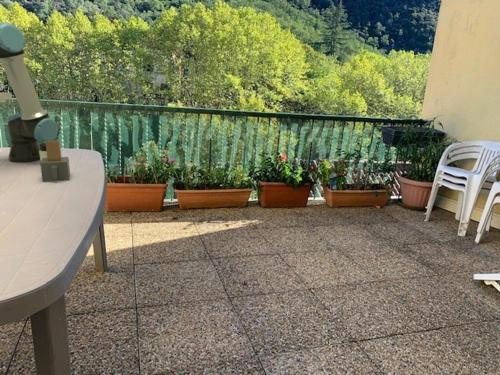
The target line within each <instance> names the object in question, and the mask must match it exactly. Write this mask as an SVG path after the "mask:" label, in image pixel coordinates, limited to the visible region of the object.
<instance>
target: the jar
mask: <svg viewBox="0 0 500 375" xmlns="http://www.w3.org/2000/svg"><path fill="white" fill-rule="evenodd" d="M39 148H40V150H39V154H40V162H41V161H42V159H43V158H47V151H46V143H45V142H41V143H40V144H39ZM61 157H63V156H62V154H61Z"/></svg>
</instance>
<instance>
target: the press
mask: <svg viewBox="0 0 500 375" xmlns="http://www.w3.org/2000/svg"><path fill="white" fill-rule="evenodd" d="M61 158H62V159H61V161H48V159H47V158H43V159H42V161H40V164H39V165H40V172H41V178H42V182H43V183H46V182H47V183H48V182H59V181H60V182H61V181H63V182H64V181H70V177H71V170H70V162H69V160H70V159H69V156H62V157H61Z"/></svg>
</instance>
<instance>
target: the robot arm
mask: <svg viewBox="0 0 500 375" xmlns="http://www.w3.org/2000/svg"><path fill="white" fill-rule="evenodd" d="M25 45H26V38H25V35H24V34H23V32H22V30H21V29H20V28H18V26H16V25H14V24H12V23H8V22H3V21H0V63H1V64H2V67H3V70H4V71H5V72H4V73H5V74H6V77H7V79H8V82H9V83H10V87H11V89H12V91H13V93H14V96H15V98H16V100H17V101H16V102H17V103H18V105H19V108H20V110H21V112H22V113H16V114H13V113H12V114H9V115H7V121H6V122H7V127H8V133H9V140H10V147H9V148H10V149H9V153H8V160H9V161H10V162H13V163H15V162H16V163H18V162H19V163H27V162H34V161H35V162H36V161H39V160H40V154H39V150H40V145H39V144H38V143H45V142H46V141H52V140H54V139H56V137H57V134H58V133H59V132H58V131H59V127H58V124H57V122H56V121H55V120H54V119H52V118H50V116H49V113H48V110H45V109H43V107H42V104H41V102H40V99H39V97H38V95H37V92H36V89H35V87H34V84H33V81H32V79H31V76H30V74H29V70H28V68H27V66H26V63H25V61H24V59H23V58H24V56H25V55H26V54H25V50H24V48H25ZM6 100H13V94H12V92H0V103H6Z"/></svg>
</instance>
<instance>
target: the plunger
mask: <svg viewBox="0 0 500 375" xmlns="http://www.w3.org/2000/svg"><path fill="white" fill-rule="evenodd" d="M44 143H46V151H47V159H48V161H61V159H62V158H61V155H62V149H61V142H60V139H57V140H54V139H53V140H52V141H46V142H44Z"/></svg>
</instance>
